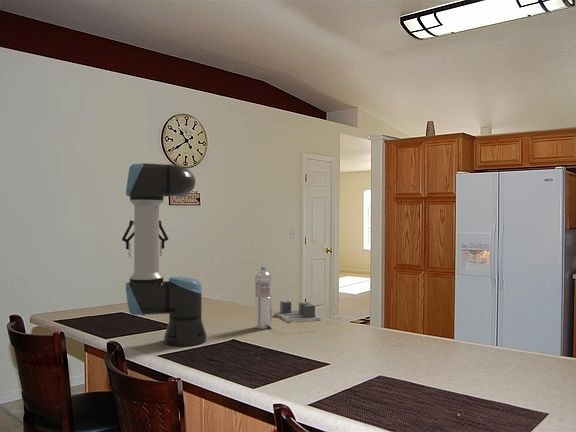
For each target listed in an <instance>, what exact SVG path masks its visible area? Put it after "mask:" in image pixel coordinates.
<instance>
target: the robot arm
mask: <svg viewBox="0 0 576 432" xmlns="http://www.w3.org/2000/svg"><path fill="white" fill-rule="evenodd" d="M195 186H196V178H195V175H194V174H193V172H192V171H191V170H189V169H188V168H186V167H183V166H180V165H177V164H164V163H163V164H162V163H147V162H146V163H132V164H131V165H130V166H129V168H128V175H127V182H126V189H125V190H126V191H125V195H126V196H127V197H129V202H130V203H131V204H132V205H133V206H134V210H133V212H134V213H133V216H134V219H133V220H132V219H131V220H129V223H128V224H129V225H128V227H127V229H126V230H125V232H124V234H123V237H122V238H121V241H122V242H125V249H126V250H128V257H129V258H131V255H132V254H131V251H132V250H131V240H132V238H133V239H134V241H133V242H134V243H133V245H134V246H133V250H134V251H133V253H134V254H133V259H134V260H133V274H132V275H131V276H130V277H129V281H128V282H126V283H125V293H126V301H127V307H128V308H127V309H128V312H129V314H131V315H132V316H142V317H143V316H147V315H148V316H149V315H166V314H168V316H169V317H168V318H169V319H168V324H167V327H166V330H165V334H164V337H163V338H164V339H163V342H164V344H166V345H167V346H173V347H174V346H176V347H187V346H196V345H197V346H198V345H201V344H203V343H206V341H207V331H206V330H205V326H204V322H203V319H202V318H203V317H202V315H203V314H202V308H203V307H202V301H203V300H202V299H203V298H202V295H203V289H202V282H201V281H200V280H199V279H196V278H192V277H182V276H181V277H180V276H170V277H169V279H168V281H167V280H164V275H162V274H161V272H160V257H162V256H163V255H162V254H163V251H162V250H164V249H165V242H166V241H168V240H169V237H168V235H167V233H166V231H165V229H164V227H163V226H162V221H161V220H160V206H161V205H162V204H163V203H164V197H187V196H189V194H190V193H192V192H193V190H194V189H195ZM132 226H133V229H134V230H133V232H132V233H131V234H130V235H129V236H128V234H129V232H130V230H131V228H132ZM160 231H161V233H162V235H163V237H162V236H161V234H160ZM127 236H128V238H127Z"/></svg>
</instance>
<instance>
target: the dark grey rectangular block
mask: <svg viewBox="0 0 576 432" xmlns="http://www.w3.org/2000/svg"><path fill="white" fill-rule="evenodd" d="M315 315H316V305H314V304H311V303H310V305H309V304H307V305H303V318H312V317H315Z"/></svg>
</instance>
